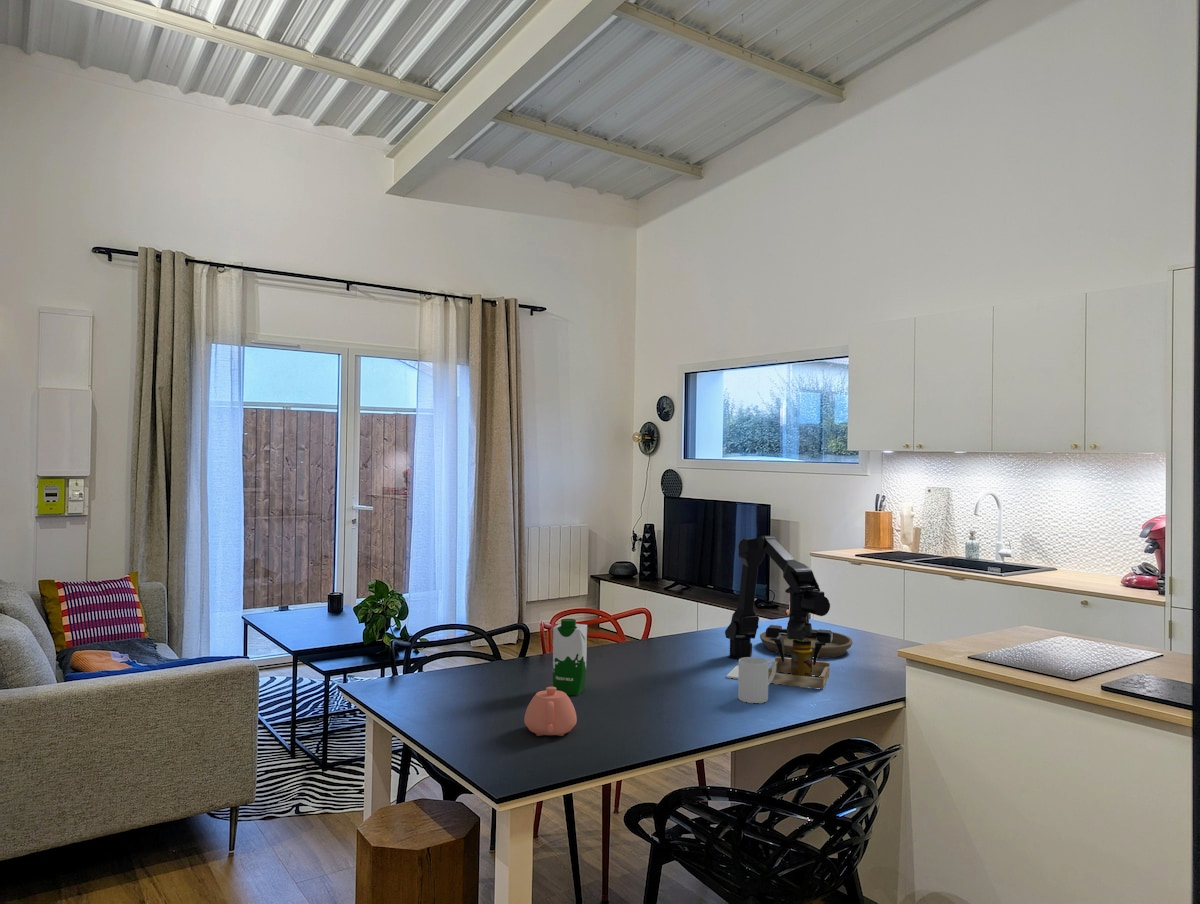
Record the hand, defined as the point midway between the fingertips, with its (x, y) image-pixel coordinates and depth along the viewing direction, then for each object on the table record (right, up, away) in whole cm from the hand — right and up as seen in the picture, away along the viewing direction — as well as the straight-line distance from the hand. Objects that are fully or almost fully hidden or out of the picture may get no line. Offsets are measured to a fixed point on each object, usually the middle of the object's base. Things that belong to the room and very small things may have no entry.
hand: (798, 663), depth 240 cm
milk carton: (-67, -4, -16) cm, 69 cm away
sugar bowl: (-70, -3, -50) cm, 87 cm away
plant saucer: (+12, -6, +41) cm, 44 cm away
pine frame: (0, -5, 0) cm, 5 cm away
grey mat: (-14, -5, +6) cm, 16 cm away
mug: (-16, -5, -20) cm, 26 cm away
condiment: (0, -5, 0) cm, 5 cm away
